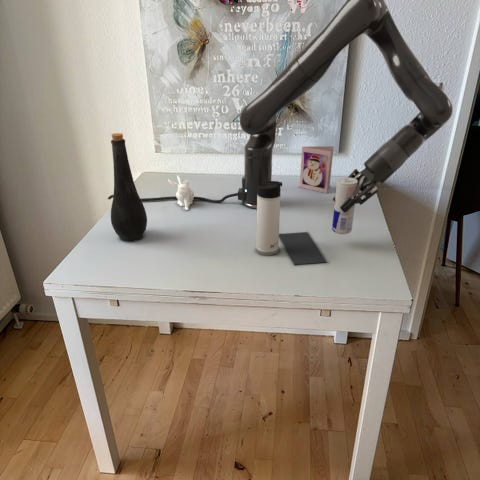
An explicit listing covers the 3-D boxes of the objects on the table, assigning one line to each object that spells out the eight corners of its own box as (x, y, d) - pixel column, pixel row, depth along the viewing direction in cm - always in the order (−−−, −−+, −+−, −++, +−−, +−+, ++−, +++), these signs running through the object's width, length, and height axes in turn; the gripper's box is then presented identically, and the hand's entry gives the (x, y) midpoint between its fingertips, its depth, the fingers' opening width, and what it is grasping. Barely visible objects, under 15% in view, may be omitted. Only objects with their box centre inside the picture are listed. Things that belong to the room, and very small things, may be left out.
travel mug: (277, 256, 137) (280, 187, 126) (254, 254, 138) (255, 185, 127) (280, 247, 142) (283, 179, 131) (258, 245, 143) (259, 178, 132)
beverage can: (353, 229, 142) (360, 178, 134) (348, 236, 138) (355, 184, 129) (334, 225, 144) (340, 175, 135) (329, 233, 140) (334, 181, 131)
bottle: (155, 232, 151) (143, 131, 135) (138, 246, 143) (124, 140, 126) (125, 227, 154) (110, 128, 137) (107, 241, 146) (89, 137, 129)
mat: (278, 235, 149) (278, 234, 149) (306, 233, 151) (307, 232, 150) (294, 265, 133) (294, 264, 133) (326, 262, 134) (326, 261, 134)
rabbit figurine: (188, 210, 166) (186, 182, 160) (166, 209, 167) (164, 181, 162) (197, 198, 176) (195, 171, 170) (176, 197, 177) (174, 170, 171)
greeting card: (298, 187, 185) (301, 147, 176) (307, 182, 190) (310, 142, 181) (325, 193, 179) (329, 152, 171) (334, 188, 184) (338, 147, 176)
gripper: (368, 144, 135) (322, 188, 140) (389, 159, 123) (338, 207, 129) (383, 162, 139) (338, 205, 144) (405, 178, 127) (355, 224, 132)
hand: (338, 206), depth 136 cm, fingers closed on beverage can, 5 cm apart
